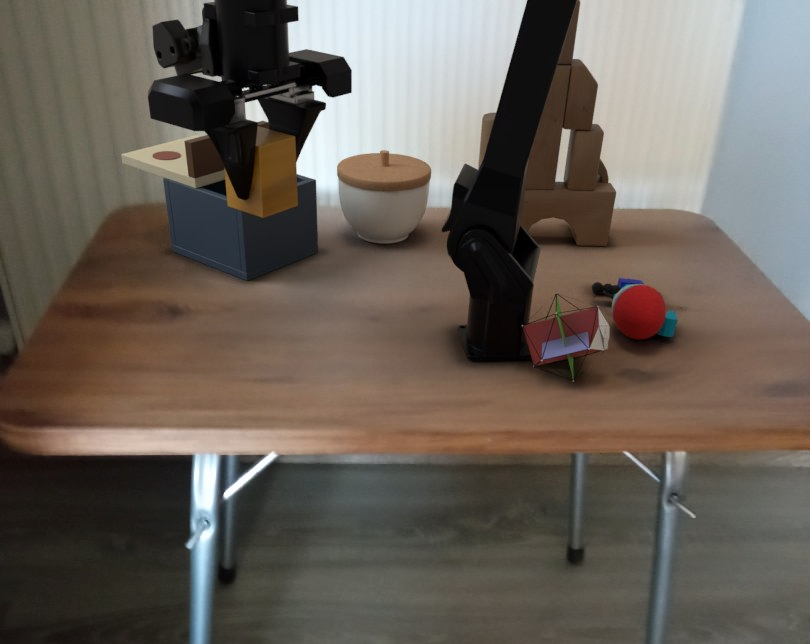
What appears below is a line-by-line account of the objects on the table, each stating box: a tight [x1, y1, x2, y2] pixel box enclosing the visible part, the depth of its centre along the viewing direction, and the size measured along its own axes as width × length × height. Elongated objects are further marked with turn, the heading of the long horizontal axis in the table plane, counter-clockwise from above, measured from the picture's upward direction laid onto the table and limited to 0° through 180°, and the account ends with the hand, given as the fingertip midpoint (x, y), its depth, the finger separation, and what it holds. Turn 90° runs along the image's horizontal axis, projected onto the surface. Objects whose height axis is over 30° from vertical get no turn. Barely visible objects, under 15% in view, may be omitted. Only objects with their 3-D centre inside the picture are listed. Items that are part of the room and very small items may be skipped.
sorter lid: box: [121, 120, 269, 188], centre depth 97 cm, size 12×11×4 cm
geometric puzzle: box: [522, 292, 611, 383], centre depth 80 cm, size 7×7×8 cm
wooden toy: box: [477, 0, 617, 247], centre depth 100 cm, size 16×7×25 cm, turn 92°
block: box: [224, 126, 298, 218], centre depth 79 cm, size 4×4×6 cm
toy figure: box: [591, 277, 678, 340], centre depth 89 cm, size 8×5×15 cm
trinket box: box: [336, 149, 432, 245], centre depth 103 cm, size 11×11×9 cm
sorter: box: [162, 173, 319, 282], centre depth 98 cm, size 12×11×8 cm
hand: (262, 192), depth 80 cm, fingers closed on block, 4 cm apart
